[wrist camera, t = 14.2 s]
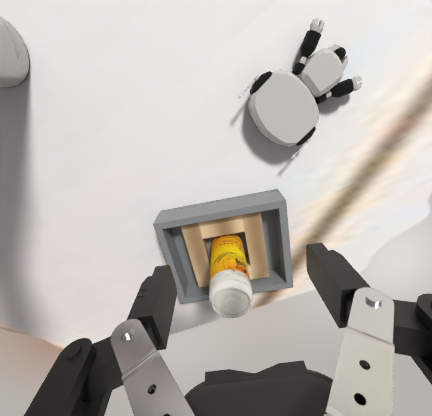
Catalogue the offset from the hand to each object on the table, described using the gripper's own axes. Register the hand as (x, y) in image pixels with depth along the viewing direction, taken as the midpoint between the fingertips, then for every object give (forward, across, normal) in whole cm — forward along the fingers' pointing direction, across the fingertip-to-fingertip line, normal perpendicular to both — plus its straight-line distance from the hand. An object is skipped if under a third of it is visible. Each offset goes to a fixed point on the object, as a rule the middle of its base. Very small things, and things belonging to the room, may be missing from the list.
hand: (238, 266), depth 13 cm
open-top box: (+28, +2, +16) cm, 32 cm away
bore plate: (+27, +2, +16) cm, 31 cm away
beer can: (+27, +2, +16) cm, 31 cm away
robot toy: (+28, -13, -9) cm, 32 cm away
